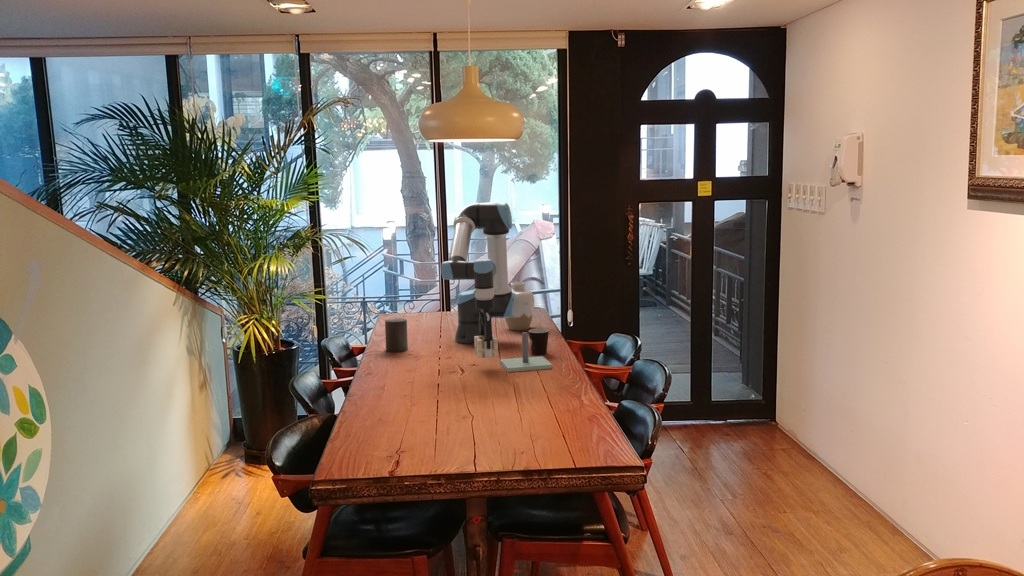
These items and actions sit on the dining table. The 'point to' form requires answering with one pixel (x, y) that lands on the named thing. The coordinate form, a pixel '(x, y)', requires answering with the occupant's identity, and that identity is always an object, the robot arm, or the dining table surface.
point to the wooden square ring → (481, 346)
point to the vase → (521, 308)
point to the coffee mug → (538, 341)
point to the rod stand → (525, 360)
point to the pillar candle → (396, 334)
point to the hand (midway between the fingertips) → (486, 353)
